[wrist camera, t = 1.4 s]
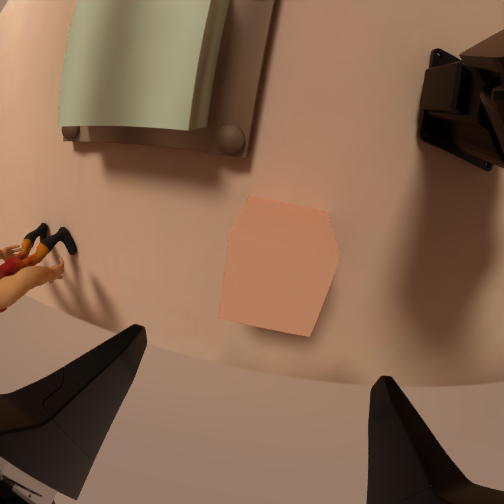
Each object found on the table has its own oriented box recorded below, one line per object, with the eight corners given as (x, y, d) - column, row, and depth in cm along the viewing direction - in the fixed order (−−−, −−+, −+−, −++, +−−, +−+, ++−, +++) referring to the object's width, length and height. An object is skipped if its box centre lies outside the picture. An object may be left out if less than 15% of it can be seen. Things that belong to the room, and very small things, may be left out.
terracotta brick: (327, 211, 17) (340, 257, 12) (308, 277, 20) (309, 336, 15) (250, 195, 18) (229, 234, 12) (239, 262, 20) (218, 318, 15)
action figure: (32, 244, 23) (-63, 329, 10) (26, 213, 21) (-81, 294, 8) (95, 263, 22) (-15, 384, 9) (89, 226, 21) (-43, 344, 7)
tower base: (280, -19, 11) (275, -49, 7) (248, 155, 16) (234, 168, 13) (92, -2, 11) (58, -12, 8) (71, 138, 17) (35, 149, 14)
